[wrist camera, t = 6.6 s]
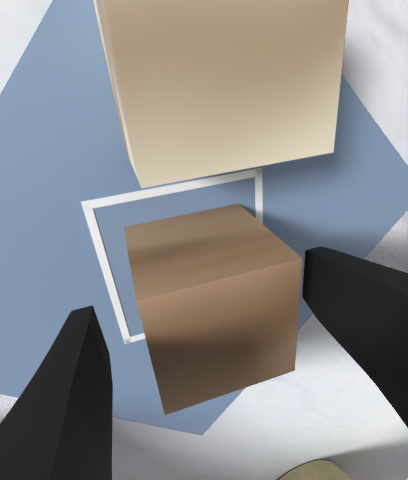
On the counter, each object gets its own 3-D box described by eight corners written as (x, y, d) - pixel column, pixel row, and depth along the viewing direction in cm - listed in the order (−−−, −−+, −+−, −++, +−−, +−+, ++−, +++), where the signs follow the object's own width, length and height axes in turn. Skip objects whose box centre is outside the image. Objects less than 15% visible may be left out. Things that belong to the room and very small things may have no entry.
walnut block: (242, 293, 14) (294, 370, 10) (145, 320, 13) (165, 415, 9) (238, 203, 12) (302, 258, 8) (123, 227, 11) (136, 301, 7)
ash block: (251, 128, 11) (333, 152, 7) (125, 148, 10) (141, 188, 6) (247, -34, 9) (361, -127, 5) (86, -29, 8) (75, -136, 4)
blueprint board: (198, 425, 19) (201, 436, 18) (-138, 350, 11) (-151, 364, 10) (414, 187, 15) (426, 190, 15) (150, -165, 8) (154, -185, 7)
